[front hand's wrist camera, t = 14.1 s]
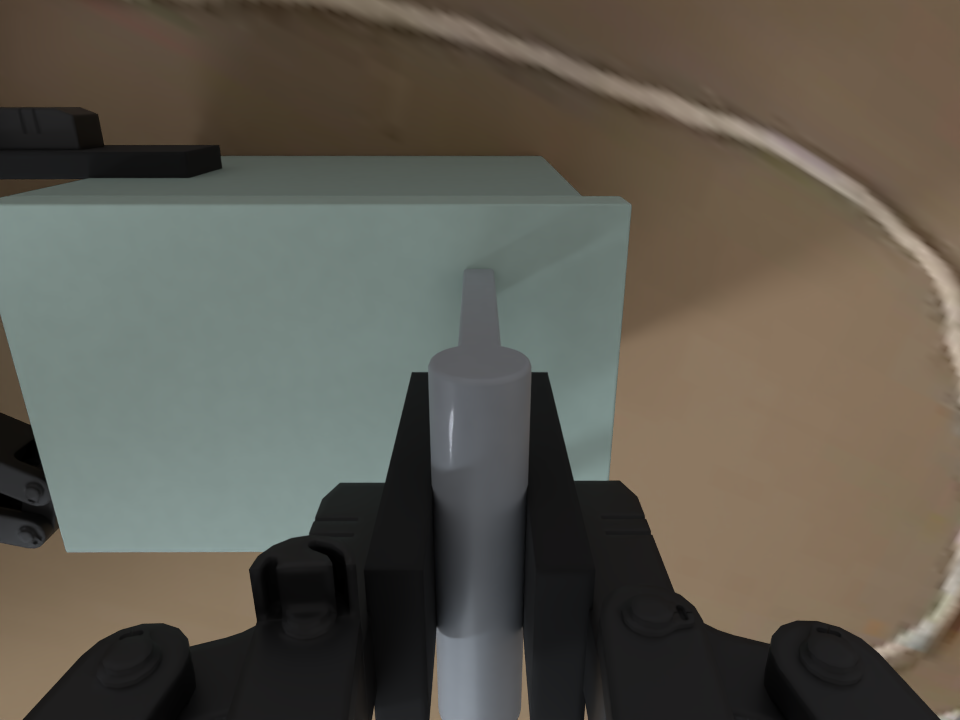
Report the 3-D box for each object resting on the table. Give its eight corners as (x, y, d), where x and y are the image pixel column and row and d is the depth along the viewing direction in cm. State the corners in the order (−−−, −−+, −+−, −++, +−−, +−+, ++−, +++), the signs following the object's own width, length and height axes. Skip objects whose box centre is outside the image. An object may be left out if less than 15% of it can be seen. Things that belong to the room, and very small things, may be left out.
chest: (542, 155, 26) (583, 195, 16) (534, 376, 30) (564, 524, 20) (190, 155, 26) (6, 195, 16) (224, 376, 30) (90, 524, 20)
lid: (621, 195, 16) (748, 286, 9) (595, 524, 20) (670, 794, 12) (5, 196, 16) (-414, 287, 8) (90, 525, 19) (-154, 798, 12)
